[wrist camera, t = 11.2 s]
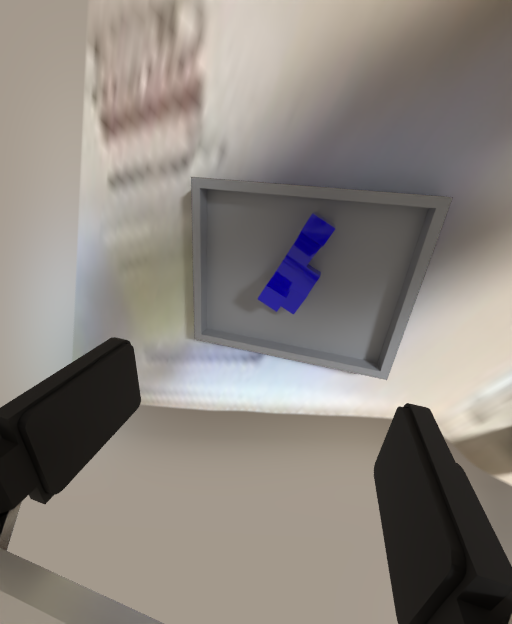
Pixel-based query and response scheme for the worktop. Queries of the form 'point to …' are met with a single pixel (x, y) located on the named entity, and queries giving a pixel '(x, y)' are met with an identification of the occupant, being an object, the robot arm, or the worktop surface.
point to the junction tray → (328, 260)
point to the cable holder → (298, 267)
